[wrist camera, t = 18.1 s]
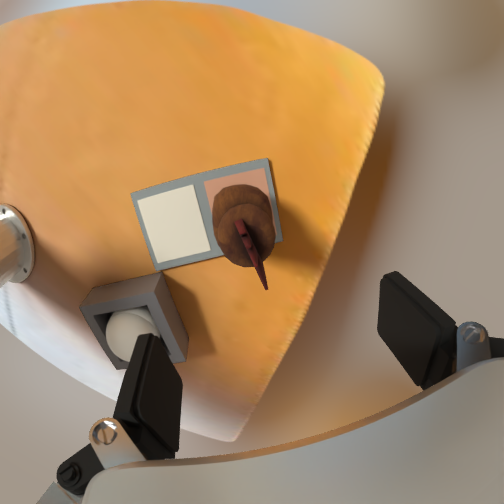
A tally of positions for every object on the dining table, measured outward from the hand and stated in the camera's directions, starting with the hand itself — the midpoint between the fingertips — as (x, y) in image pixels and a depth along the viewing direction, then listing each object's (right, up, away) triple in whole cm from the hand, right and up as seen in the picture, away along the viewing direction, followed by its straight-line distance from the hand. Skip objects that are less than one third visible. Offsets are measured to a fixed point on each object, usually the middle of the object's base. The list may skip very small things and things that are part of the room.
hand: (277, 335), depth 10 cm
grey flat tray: (-6, +7, +21) cm, 23 cm away
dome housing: (-17, -5, +25) cm, 30 cm away
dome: (-16, -6, +23) cm, 29 cm away
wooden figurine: (-2, +8, +20) cm, 22 cm away
